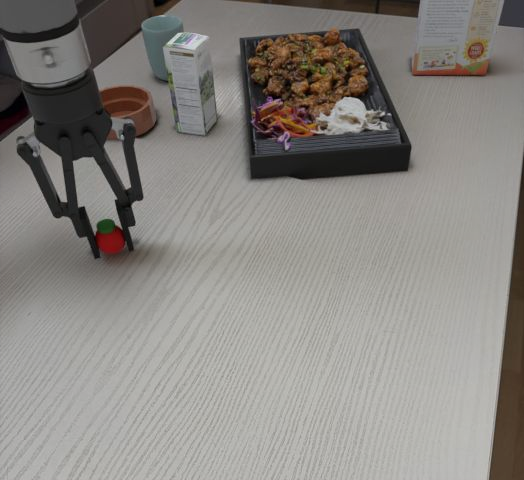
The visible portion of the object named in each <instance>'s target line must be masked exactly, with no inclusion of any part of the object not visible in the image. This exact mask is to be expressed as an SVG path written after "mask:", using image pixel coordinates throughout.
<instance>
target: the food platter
mask: <svg viewBox="0 0 524 480" xmlns="http://www.w3.org/2000/svg"><path fill="white" fill-rule="evenodd" d="M239 52H240V53H239V55H240V64H241V65H240V66H241V78H242V88H243V89H242V90H243V101H244V111H245V113H244V114H245V123H246V137H247V147H248V148H247V149H248V159H249V160H248V161H249V167H250V168H249V169H250V179H251V180H255V179H256V180H257V179H268V178H269V179H270V178H281V177H289V178H292V179H297V180H309V179H310V180H311V179H312V180H313V179H324V178H337V177H348V176H361V175H374V174H375V175H376V174H385V173H399V172H408V171H409V165H410V159H411V155H412V148H413V146H412V142H411V141H410V138H409V136H408V134H407V131H406V129H405V127H404V125H403V123H402V121H401V119H400V116H399V114H398V111H397V109H396V108H395V107H396V106H395V105H394V103H393V100H392V98H391V96H390V94H389V92H388V89H387V87H386V85H385V83H384V81H383V78H382V77H381V73H380V71H379V68H378V67H377V65H376V63H375V60H374V58H373V56H372V54H371V51H370V49H369V48H368V45H367V43H366V40H365V38H364V36H363V34H362V32H361V29H360V28H359V27H357V28H346V29H338V28H335V27H332V28H331V29H330V30H320V31H307V32H296V33H295V32H294V33H282V34H270V35H260V36H246V37H245V36H244V37H239Z"/></svg>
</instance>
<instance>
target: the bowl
mask: <svg viewBox="0 0 524 480" xmlns="http://www.w3.org/2000/svg"><path fill="white" fill-rule="evenodd" d="M99 92H100V95H101V99H102V103H103V106H104V108H105V109H106V110H107V111H108V112H109V114H110V115H111V117H115V118H120V119H123V118H124V117H125V116H130V117H132V119H133V121H134V125H135V128H136V136H135V138H136V137H138V136H141V135H143V134H145V133H147V132H148V131H149V130H150V129H152V128H153V127H154V126H155V123H156V121H157V115H156V109H155V103H154V100H153V95H152V94H151V91H149V90H147V89H146V88H144V87H142V86H138V85H131V84H126V85H125V84H124V85H123V84H120V85H114V86H109V87H105V88H102V89H99ZM107 140H119V139H118V138H117V136H116V133H115V131H114V130H113V129H111V130H110V133H109V135H108V137H107Z"/></svg>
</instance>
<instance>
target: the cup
mask: <svg viewBox="0 0 524 480" xmlns="http://www.w3.org/2000/svg"><path fill="white" fill-rule="evenodd" d="M140 27H141V33H142V38H143V44H144V49H145V52H146V56H147V60H148V64H149V66H150V68H151V71H152V72H153V74H154V75H155V77H157V78H158V79H159V80H162V81H165V82H168V76H167V70H166V64H165V58H164V52H163V47H164V46H165V45H166V44H167V43H168V42H169V41H170V40H171V39H172V38H173V37H174V36H175V35H176V34H178V33H185V27H184V23H183V20H182V18H180V17H179V16H176V15H172V14H161V15H155V16H151V17H149V18H147V19H144V20H143V21H142V22H141V25H140Z"/></svg>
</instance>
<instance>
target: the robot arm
mask: <svg viewBox="0 0 524 480" xmlns="http://www.w3.org/2000/svg"><path fill="white" fill-rule="evenodd" d="M78 14H79V13H78V9H77V5H76V2H75V0H0V35H1V36H2V40H3V42H4V45H5V47H6V50H7V53H8V56H9V58H10V61H11V64H12V67H13V69H14V72H15V74H16V76H17V77H18V79H20V80H21V82H20V87H21V90H22V92H23V95H24V98H25V101H26V103H27V105H28V106H27V107H28V108H29V111H30V113H31V115H32V119H33V121H34V122H33V131H32V132H30V133H29V134H28V135H26V136H24V135H19V136H17V137H16V138H15V140H16V143H15V144H16V145H15V146H16V154H17V156H19V157H20V158H21V159H22V160H23V162H25V163H26V165H28V167H29V168H30V171H31V173H32V174H33V177H34V179H35V181H36V184H37V185H38V187H39V189H40V191H41V194H42V196H43V197H44V200H45V202H46V204H47V206H48V208H49V210H50V211H49V212H51V214H52V217H53V218H55V219H61V218H68V219H69V220H70V221H71V223H72V226H73V228H74V231H75V233H76V236H77V237H78V238H79V239H82V238H87V241H88V244H89V247H90V250H91V252H92V256H93V257H94V260H98V259H101V258H102V257H101V253H100V249H99V248H98V247H97V245H96V241H95V234H96V233H95V232H94V229H93V227H92V223H91V221H90V217H89V215H88V212H87V208H86V206H85V205H83V206H79V201H78V193H77V184H76V175H75V167H74V166H75V165H74V162H75V161H79V160H80V159H83V158H87V159H88V158H89V159H90V158H93V159H94V161H95V163H96V164H97V166H98V167H99V169H100V170H101V173H102V174H103V176H104V177H105V179H106V182H107V184H108V185H109V187H110V188H111V191H112V192H113V194H114V195H115V199H114V204H115V205H114V206H115V209H116V213H117V216H118V220H119V223H120V226H121V227H120V228H121V229H122V230H123V233H124V237H125V240H126V243H125V244H126V247H127V250H128V252H134V251H135V247H134V242H133V238H132V235H131V231H130V228H131V227H136V224H137V222H136V218H135V213H134V210H133V204H134V203H136V202H141V201H143V200H144V198H145V196H144V191H143V187H142V186H143V185H142V181H141V176H140V170H139V166H138V161H137V156H136V155H137V154H136V150H135V141H136V137H137V136H136V128H135V125H134V121H133V119H132V117H130V116H125V117H124V118H123V119H120V118H115V117H111V115H110V114H109V112H108V111H107V110H106V109H105V108H104V106H103V103H102V99H101V95H100V92H99V90H100V89H99V85H98V80H97V78H96V74H95V71H94V69H93V68H92V67H91V66H90V65H91V64H92V60H91V56H90V52H89V49H88V48H89V47H88V44H87V40H86V37H85V33H84V30H83V26H82V23H81V19H80V18H79V15H78ZM111 129H113V130H114V131H115V133H116V136H117V138H118V139H117V140H120V141H121V146H122V150H123V155H124V160H125V165H126V169H127V175H128V179H129V184H130V187H128V188H126V186H125V184H124V182H123V181H122V179H121V177H120V175H119V173H118V171H117V169H116V168H115V166H114V164H113V162H112V160H111V158H110V156H109V154H108V152H107V150H106V148H105V144H106V142H107V140H108V139H107V137H108V135H109V133H110V130H111ZM135 136H136V137H135ZM40 144H42V145H43V146H44V147H46V148H48V149H49V150H50V151H52V152H53V153H54V154H56V155H57V156H59V157H60V158H61V166H62V167H61V168H62V174H63V181H64V182H63V183H64V188H65V194H66V195H65V196H66V201H62V200H61V198H60V196H59V194H58V191H57V189H56V187H55V184H54V182H53V180H52V177H51V176H50V174H49V171H48V169H47V167H46V165H45V162H44V160H43V158H42V156H41V153H42V152H41V145H40Z"/></svg>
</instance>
